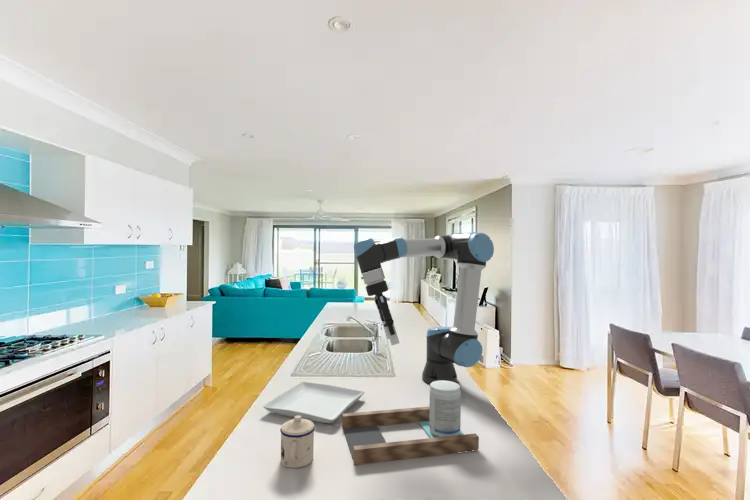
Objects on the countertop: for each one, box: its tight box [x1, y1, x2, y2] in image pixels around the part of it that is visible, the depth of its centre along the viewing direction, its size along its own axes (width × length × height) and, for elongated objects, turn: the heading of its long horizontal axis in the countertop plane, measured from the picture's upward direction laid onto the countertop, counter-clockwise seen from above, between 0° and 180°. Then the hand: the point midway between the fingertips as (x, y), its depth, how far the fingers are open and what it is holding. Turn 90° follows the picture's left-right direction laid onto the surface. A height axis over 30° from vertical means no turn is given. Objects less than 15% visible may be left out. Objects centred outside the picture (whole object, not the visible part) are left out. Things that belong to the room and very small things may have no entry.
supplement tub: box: [429, 380, 462, 437], centre depth 120 cm, size 10×10×15 cm
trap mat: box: [342, 426, 387, 460], centre depth 114 cm, size 11×17×1 cm, turn 13°
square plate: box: [262, 381, 365, 424], centre depth 138 cm, size 27×27×4 cm
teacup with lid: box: [279, 415, 315, 469], centre depth 102 cm, size 12×9×12 cm
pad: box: [418, 421, 465, 438], centre depth 119 cm, size 11×17×1 cm, turn 13°
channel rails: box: [341, 405, 480, 466], centre depth 117 cm, size 36×22×4 cm, turn 103°
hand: (393, 341), depth 134 cm, fingers open, 13 cm apart
